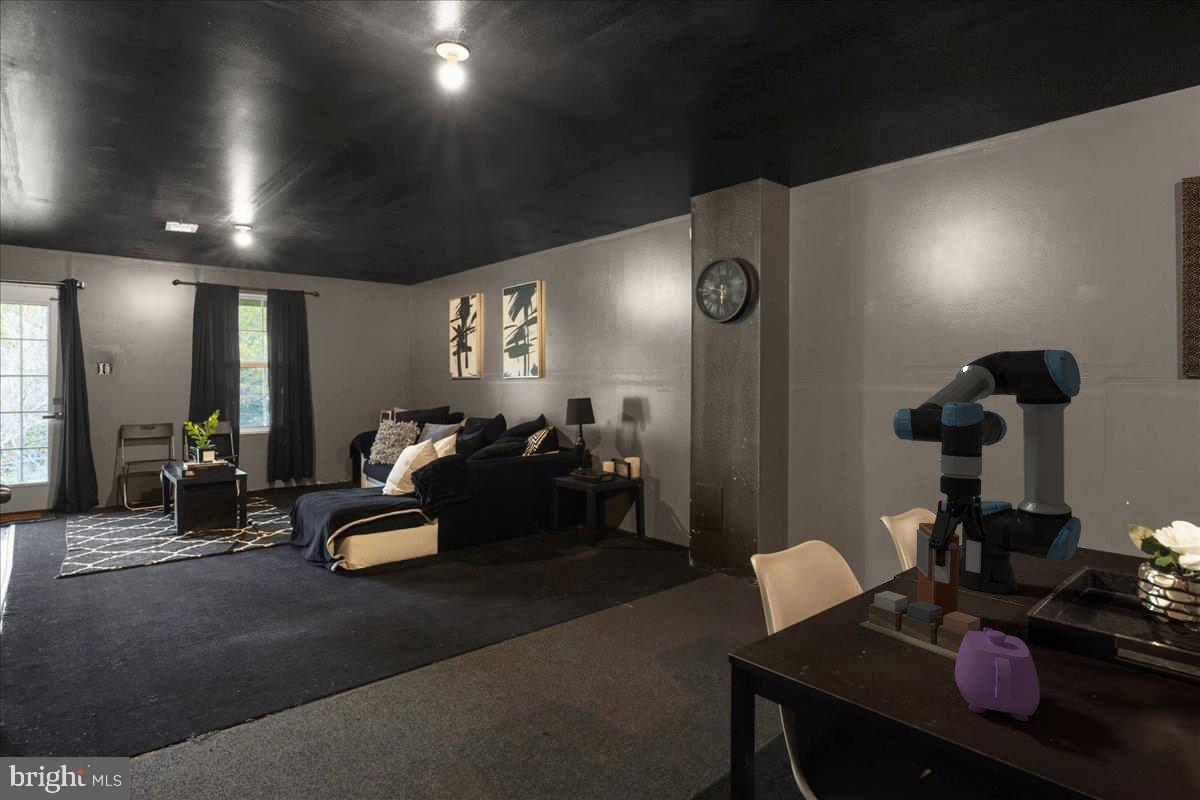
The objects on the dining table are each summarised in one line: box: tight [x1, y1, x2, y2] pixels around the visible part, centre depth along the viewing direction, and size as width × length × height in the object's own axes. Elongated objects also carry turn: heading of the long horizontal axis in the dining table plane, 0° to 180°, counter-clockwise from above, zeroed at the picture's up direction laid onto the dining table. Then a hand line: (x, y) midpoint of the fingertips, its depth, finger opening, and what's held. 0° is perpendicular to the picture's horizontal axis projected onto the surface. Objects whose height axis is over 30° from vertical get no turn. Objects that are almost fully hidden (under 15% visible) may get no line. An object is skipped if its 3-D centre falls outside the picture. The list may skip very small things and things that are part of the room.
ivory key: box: [873, 590, 908, 612], centre depth 148 cm, size 5×5×4 cm
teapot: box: [954, 627, 1041, 722], centre depth 112 cm, size 20×12×13 cm, turn 156°
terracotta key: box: [943, 611, 981, 635], centre depth 135 cm, size 5×5×4 cm
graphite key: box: [907, 600, 942, 624], centre depth 141 cm, size 5×5×4 cm
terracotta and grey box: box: [915, 522, 961, 617], centre depth 153 cm, size 21×7×15 cm
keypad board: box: [858, 603, 984, 661], centre depth 141 cm, size 12×24×4 cm, turn 34°
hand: (957, 576), depth 135 cm, fingers open, 13 cm apart
